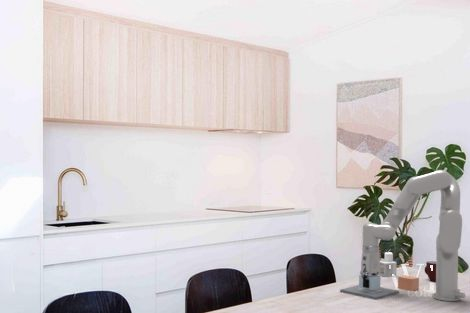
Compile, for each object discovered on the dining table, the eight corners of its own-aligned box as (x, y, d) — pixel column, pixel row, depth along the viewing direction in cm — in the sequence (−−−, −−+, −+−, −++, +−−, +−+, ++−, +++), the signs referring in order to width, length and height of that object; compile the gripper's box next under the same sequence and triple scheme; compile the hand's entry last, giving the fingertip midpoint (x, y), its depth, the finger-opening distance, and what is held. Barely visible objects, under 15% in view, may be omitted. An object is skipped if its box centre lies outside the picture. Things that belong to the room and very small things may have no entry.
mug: (419, 279, 316) (419, 261, 316) (428, 278, 321) (429, 259, 321) (435, 283, 308) (435, 264, 308) (445, 281, 312) (445, 263, 312)
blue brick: (380, 288, 283) (380, 276, 283) (373, 290, 279) (373, 277, 279) (366, 285, 289) (366, 273, 289) (359, 287, 285) (359, 275, 285)
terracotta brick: (418, 289, 292) (418, 277, 292) (412, 291, 288) (412, 279, 288) (404, 287, 298) (404, 275, 298) (397, 288, 294) (398, 276, 294)
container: (376, 274, 329) (376, 251, 329) (387, 273, 333) (387, 250, 333) (385, 277, 322) (385, 253, 322) (396, 276, 326) (397, 252, 326)
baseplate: (399, 293, 284) (399, 290, 284) (376, 299, 270) (376, 296, 270) (363, 286, 298) (363, 283, 298) (340, 292, 284) (340, 289, 284)
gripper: (366, 251, 275) (366, 290, 275) (386, 248, 287) (386, 285, 287) (353, 249, 281) (352, 287, 281) (373, 246, 293) (373, 282, 293)
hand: (369, 286), depth 284 cm, fingers closed on blue brick, 5 cm apart
